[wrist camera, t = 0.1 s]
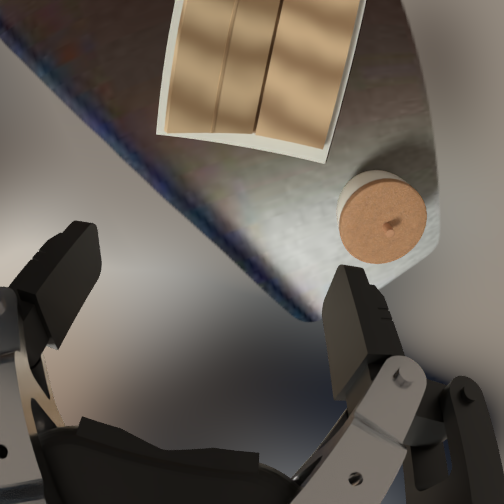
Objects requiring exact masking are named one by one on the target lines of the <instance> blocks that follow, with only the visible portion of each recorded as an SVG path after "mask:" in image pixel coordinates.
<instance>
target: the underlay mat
mask: <svg viewBox="0 0 504 504" xmlns="http://www.w3.org/2000/svg"><path fill="white" fill-rule="evenodd" d="M183 1H184V0H175V5H174V10H173V15H172V20H171V26H170V31H169V37H168V43H167V49H166V56H165V62H164V69H163V77H162V84H161V92H160V101H159V110H158V120H157V131H156V134H159V135H167V136H176V137H184V138H191V139H198V140H205V141H212V142H218V143H225V144H231V145H237V146H242V147H248V148H253V149H259V150H264V151H269V152H274V153H279V154H284V155H288V156H293V157H298V158H302V159H307V160H311V161H315V162H319V163H324V164H325V162H326V158H327V155H328V151H329V148H330V144H331V141H332V137H333V133H334V130H335V126H336V122H337V119H338V115H339V111H340V107H341V104H342V100H343V96H344V92H345V88H346V84H347V80H348V76H349V72H350V68H351V64H352V60H353V56H354V52H355V48H356V43H357V39H358V35H359V30H360V26H361V22H362V17H363V13H364V8H365V3H366V0H360V2H359V6H358V11H357V16H356V20H355V24H354V29H353V33H352V38H351V42H350V46H349V50H348V55H347V59H346V63H345V67H344V71H343V75H342V79H341V83H340V87H339V91H338V95H337V99H336V103H335V107H334V110H333V114H332V118H331V122H330V125H329V129H328V133H327V137H326V140H325V144H324V148H323V150H322V149H318V148H314V147H310V146H306V145H301V144H297V143H292V142H288V141H283V140H278V139H273V138H268V137H263V136H258V135H255V134H256V133H252V134H237V133H166V132H165V131H164V127H165V117H166V108H167V99H168V91H169V84H170V76H171V69H172V62H173V56H174V50H175V44H176V38H177V32H178V27H179V21H180V16H181V11H182V6H183Z"/></svg>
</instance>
